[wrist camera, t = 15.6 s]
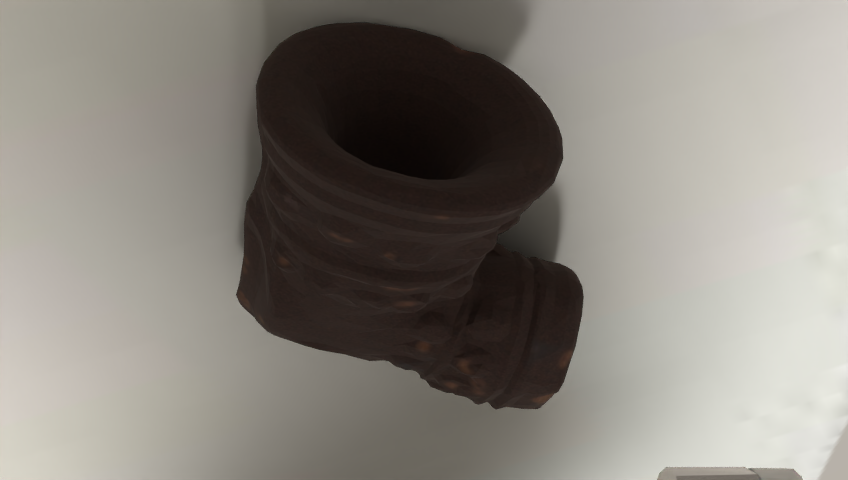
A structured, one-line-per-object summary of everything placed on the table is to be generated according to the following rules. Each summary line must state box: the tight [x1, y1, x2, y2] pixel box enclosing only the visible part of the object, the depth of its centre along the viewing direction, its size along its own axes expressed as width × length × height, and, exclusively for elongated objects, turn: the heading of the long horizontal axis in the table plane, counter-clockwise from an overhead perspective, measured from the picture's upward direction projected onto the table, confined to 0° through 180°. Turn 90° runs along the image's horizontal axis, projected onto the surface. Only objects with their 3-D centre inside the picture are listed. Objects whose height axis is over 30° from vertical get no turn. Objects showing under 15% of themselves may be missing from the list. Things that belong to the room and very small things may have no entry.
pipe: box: [236, 23, 584, 409], centre depth 34 cm, size 10×15×15 cm
